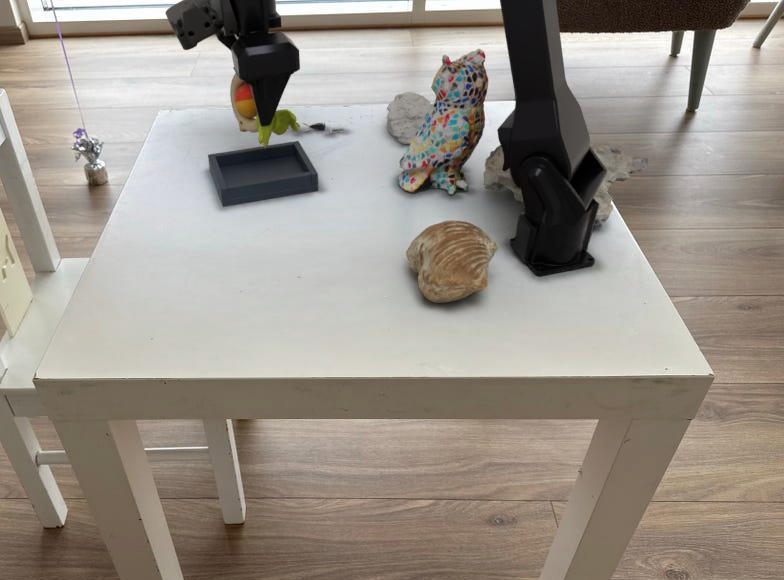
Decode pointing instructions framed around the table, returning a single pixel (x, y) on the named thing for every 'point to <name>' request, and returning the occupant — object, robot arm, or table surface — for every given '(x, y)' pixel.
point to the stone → (406, 115)
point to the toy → (319, 127)
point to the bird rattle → (247, 110)
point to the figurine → (448, 127)
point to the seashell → (451, 260)
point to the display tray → (262, 173)
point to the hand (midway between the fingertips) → (257, 110)
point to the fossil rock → (616, 171)
